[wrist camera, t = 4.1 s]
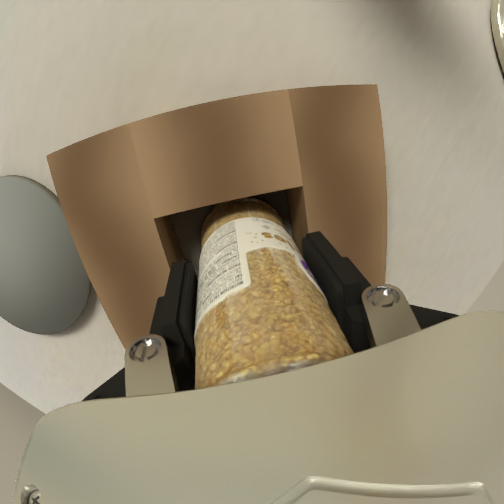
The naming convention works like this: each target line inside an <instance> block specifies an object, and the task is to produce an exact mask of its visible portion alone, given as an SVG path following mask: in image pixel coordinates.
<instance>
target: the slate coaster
mask: <svg viewBox="0 0 504 504" xmlns="http://www.w3.org/2000/svg"><path fill="white" fill-rule="evenodd" d="M90 290H91V281H90V279H89V277H88V274H87V272H86V270H85V268H84V265H83V263H82V261H81V258H80V256H79V253H78V251H77V248H76V246H75V243H74V241H73V238H72V235H71V233H70V230H69V227H68V225H67V222H66V219H65V216H64V213H63V210H62V208H61V205H60V201H59V198H58V197H57V196H56V195H55V194H53V193H52V192H51V191H50V190H49V189H47V188H46V187H45V186H43V185H42V184H40V183H38V182H36V181H34V180H32V179H30V178H27V177H23V176H17V175H8V176H3V177H0V316H1V317H2V318H3V319H5V320H6V321H8V322H9V323H11V324H12V325H14V326H16V327H18V328H20V329H22V330H25V331H28V332H31V333H36V334H54V333H58V332H61V331H63V330H65V329H67V328H68V327H70V326H71V325H72V324H73V323H74V322H75V321H76V320H77V319H78V317H79V316H80V315H81V313H82V311H83V309H84V307H85V305H86V303H87V301H88V298H89V294H90Z"/></svg>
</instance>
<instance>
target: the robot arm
mask: <svg viewBox="0 0 504 504" xmlns="http://www.w3.org/2000/svg"><path fill="white" fill-rule="evenodd" d="M491 24H492V32H493V37H494V42H495V46H496V50H497V54H498V57H499V61H500V64H501V67H502V70H503V73H504V0H493V1H492V7H491ZM302 248H303V257H304V260H305V262H306V264H307V266H308V267H309V269H310V271H311V273H312V274H313V276H314V278H315V279H316V281H317V283H318V285H319V286H320V288H321V290H322V292H323V293H324V295H325V297H326V299H327V301H328V305H329V308H330V310H331V311H332V313H333V315H334V317H335V318H336V320H337V322H338V324H339V326H340V328H341V330H342V332H343V334H344V335H345V337H346V339H347V342H348V344H349V346H350V348H351V349H352V351H353V352H354V354H350V355H347V356H344V357H340V358H337V359H333V360H330V361H326V362H323V363H319V364H315V365H312V366H308V367H304V368H300V369H296V370H292V371H288V372H283V373H279V374H275V375H270V376H266V377H261V378H256V379H251V380H246V381H241V382H236V383H230V384H224V385H219V386H213V387H206V388H200V389H195V364H196V360H195V357H196V349H195V345H194V331H195V314H196V299H197V285H198V280H197V277H196V274H195V270H194V267H193V264H192V262H189V263H187V261H186V260H181V261H177V262H172V265H171V269H170V273H169V277H168V282H167V286H166V290H165V295H164V296H162V297H158V299H157V303H156V307H155V311H154V315H153V320H152V324H151V328H150V333H149V335H144V336H141V337H139V338H137V339H136V340H134V341H133V342H132V343H131V344H130V345H129V346H128V347H127V349H126V351H125V367H124V368H123V369H122V370H120V371H119V372H118V373H117V374H115V375H114V376H113V377H111V378H110V379H109V380H107V381H106V382H105V383H104V384H102V385H101V386H100V387H98V388H97V389H96V390H94V391H93V392H92V393H91V394H89V395H88V396H87V397H86V398H84V399H83V400H82V401H81V402H77V403H73V404H69V405H66V406H63V407H61V408H58V409H55V410H53V411H51V412H50V413H48V414H46V415H45V416H44V417H43V418H41V419H40V420H39V422H38V423H37V425H36V426H35V428H34V430H33V431H32V433H31V436H30V438H29V440H28V443H27V445H26V448H25V450H24V453H23V456H22V459H21V463H20V466H19V470H18V474H17V477H16V481H15V486H14V491H13V496H12V502H11V504H504V312H503V311H480V312H474V313H470V314H464V315H461V316H459V315H456V314H451V313H447V312H442V311H437V310H433V309H428V308H423V307H419V306H414V305H409V303H408V301H407V299H406V297H405V296H404V294H403V292H402V291H401V290H400V289H399V288H397V287H396V286H393V285H390V284H376V285H371V284H370V283H369V282H368V280H367V279H366V278H365V277H364V276H363V274H362V273H361V272H360V271H359V270H358V269H357V267H356V266H355V265H354V264H353V263H352V262H351V260H350V259H349V258H348V257H342V256H341V255H340V254H339V253H338V252H337V250H336V249H335V248H334V247H333V246H332V244H331V243H330V242H329V241H328V240H327V239H326V237H325V236H324V235H323V234H322V233H321V232H320V231H316V232H312V233H307V234H306V237H305V238H302Z"/></svg>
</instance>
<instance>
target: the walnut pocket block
mask: <svg viewBox="0 0 504 504" xmlns="http://www.w3.org/2000/svg"><path fill="white" fill-rule="evenodd" d="M46 157H47V161H48V164H49V168H50V172H51V175H52V179H53V182H54V186H55V189H56V192H57V195H58V198H59V201H60V205H61V208H62V210H63V213H64V216H65V219H66V222H67V225H68V227H69V230H70V233H71V235H72V238H73V241H74V243H75V246H76V248H77V251H78V253H79V256H80V258H81V261H82V263H83V265H84V268H85V270H86V272H87V274H88V277H89V279H90V281H91V283H92V285H93V288H94V290H95V292H96V294H97V296H98V298H99V300H100V302H101V304H102V306H103V308H104V310H105V312H106V314H107V316H108V318H109V320H110V322H111V324H112V326H113V328H114V330H115V331H116V333H117V335H118V337H119V339H120V341H121V342H122V344H123V346H124V348H125V349H127V347H128V346H129V345H130V344H131V343H132V342H133V341H134V340H136V339H137V338H139V337H141V336H144V335H149V333H150V328H151V324H152V320H153V315H154V311H155V307H156V303H157V299H158V297H162V296H164V295H165V290H166V286H167V282H168V277H169V273H170V269H171V265H172V262H177V261H181V260H184V259H183V255H182V252H181V249H180V245H179V242H178V239H177V235H176V232H175V229H174V225H173V222H172V218H171V215H170V214H174V213H178V212H182V211H186V210H191V209H195V208H199V207H203V206H208V205H212V204H217V203H221V202H226V201H230V200H235V199H240V198H244V197H249V196H254V195H259V194H264V193H269V192H274V191H279V190H284V189H286V192H287V199H288V206H289V213H290V220H291V228H292V235H293V241H294V242H295V244H296V246H297V248H298V249H299V251H300V253H301V255H302V257H303V248H302V238H305V237H306V234H307V233H312V232H316V231H320V232H321V233H322V234H323V235H324V236H325V237H326V239H327V240H328V241H329V242H330V243H331V244H332V246H333V247H334V248H335V249H336V250H337V252H338V253H339V254H340V255H341V256H342V257H348V258H349V259H350V260H351V262H352V263H353V264H354V265H355V266H356V267H357V269H358V270H359V271H360V272H361V273H362V274H363V276H364V277H365V278H366V279H367V280H368V282H369V283H370V284H371V285H376V284H385V271H386V248H387V189H386V166H385V151H384V139H383V128H382V119H381V110H380V102H379V95H378V88H377V85H336V86H319V87H307V88H296V89H287V90H279V91H271V92H264V93H257V94H250V95H244V96H238V97H233V98H227V99H222V100H217V101H212V102H208V103H203V104H198V105H194V106H190V107H186V108H182V109H178V110H174V111H170V112H166V113H163V114H159V115H155V116H152V117H149V118H145V119H142V120H139V121H135V122H132V123H129V124H126V125H123V126H120V127H117V128H114V129H111V130H108V131H106V132H103V133H100V134H97V135H95V136H92V137H90V138H87V139H84V140H82V141H79V142H77V143H74V144H72V145H70V146H67V147H65V148H63V149H60V150H58V151H56V152H53V153H51V154H49V155H47V156H46ZM303 258H304V257H303Z"/></svg>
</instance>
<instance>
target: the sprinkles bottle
mask: <svg viewBox="0 0 504 504" xmlns="http://www.w3.org/2000/svg"><path fill="white" fill-rule="evenodd" d="M201 246H202V251H201V255H200V260H199V272H198V285H197V299H196V314H195V331H194V345H195V349H196V357H195V360H196V364H195V389H200V388H206V387H213V386H219V385H224V384H230V383H236V382H241V381H246V380H251V379H256V378H261V377H266V376H270V375H275V374H279V373H283V372H288V371H292V370H296V369H300V368H304V367H308V366H312V365H315V364H319V363H323V362H326V361H330V360H333V359H337V358H340V357H344V356H347V355H350V354H354V352H353V351H352V349H351V348H350V346H349V344H348V342H347V339H346V337H345V335H344V334H343V332H342V330H341V328H340V326H339V324H338V322H337V320H336V318H335V317H334V315H333V313H332V311H331V310H330V308H329V305H328V301H327V299H326V297H325V295H324V293H323V292H322V290H321V288H320V286H319V285H318V283H317V281H316V279H315V278H314V276H313V274H312V273H311V271H310V269H309V267H308V266H307V264H306V262H305V260H304V258H303V257H302V255H301V253H300V251H299V249H298V248H297V246H296V244H295V242H294V241H293V239H292V238H291V236H290V235H289V234H288V233H287V232H286V230H285V226H284V223H283V221H282V219H281V217H280V216H279V214H278V212H277V211H276V210H275V209H274V208H273V207H272V206H270V205H269V204H268V203H266V202H264V201H262V200H259V199H256V198H253V197H244V198H240V199H235V200H230V201H226V202H222V203H220V204H218V205H217V206H215V207H214V209H213V210H212V211H211V212H210V213H209V214H208V216H207V217H206V219H205V221H204V223H203V226H202V229H201Z"/></svg>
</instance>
